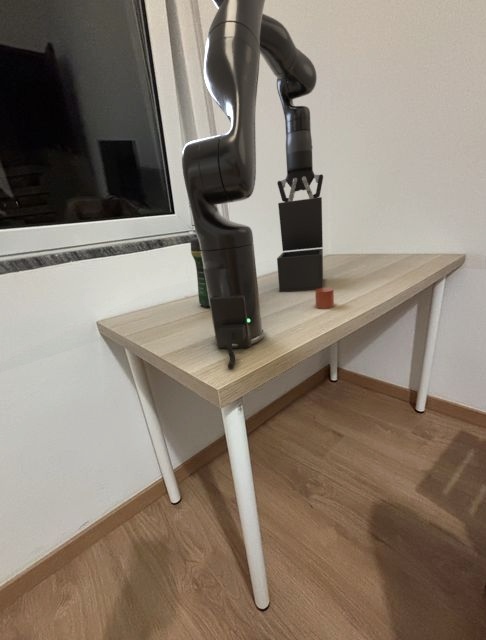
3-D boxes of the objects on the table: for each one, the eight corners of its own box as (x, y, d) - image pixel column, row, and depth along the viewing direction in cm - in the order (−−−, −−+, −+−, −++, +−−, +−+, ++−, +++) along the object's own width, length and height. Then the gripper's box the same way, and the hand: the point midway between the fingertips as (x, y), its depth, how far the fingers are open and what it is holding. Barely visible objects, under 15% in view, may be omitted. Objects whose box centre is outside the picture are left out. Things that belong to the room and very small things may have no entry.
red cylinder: (334, 308, 71) (333, 291, 69) (315, 309, 72) (314, 292, 70) (333, 303, 75) (333, 287, 73) (316, 304, 76) (315, 288, 74)
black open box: (322, 289, 89) (322, 254, 85) (279, 291, 92) (276, 258, 88) (323, 279, 101) (322, 248, 97) (284, 282, 104) (282, 252, 100)
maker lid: (321, 197, 88) (321, 194, 92) (278, 203, 91) (280, 200, 95) (322, 247, 96) (322, 242, 100) (282, 251, 100) (284, 246, 104)
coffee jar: (209, 309, 83) (197, 237, 75) (196, 305, 89) (183, 237, 82) (238, 301, 88) (230, 232, 80) (224, 297, 94) (215, 233, 86)
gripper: (272, 154, 88) (277, 218, 95) (324, 145, 84) (325, 212, 91) (276, 158, 95) (280, 217, 101) (324, 149, 91) (325, 212, 98)
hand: (301, 214), depth 96 cm, fingers closed on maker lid, 5 cm apart
